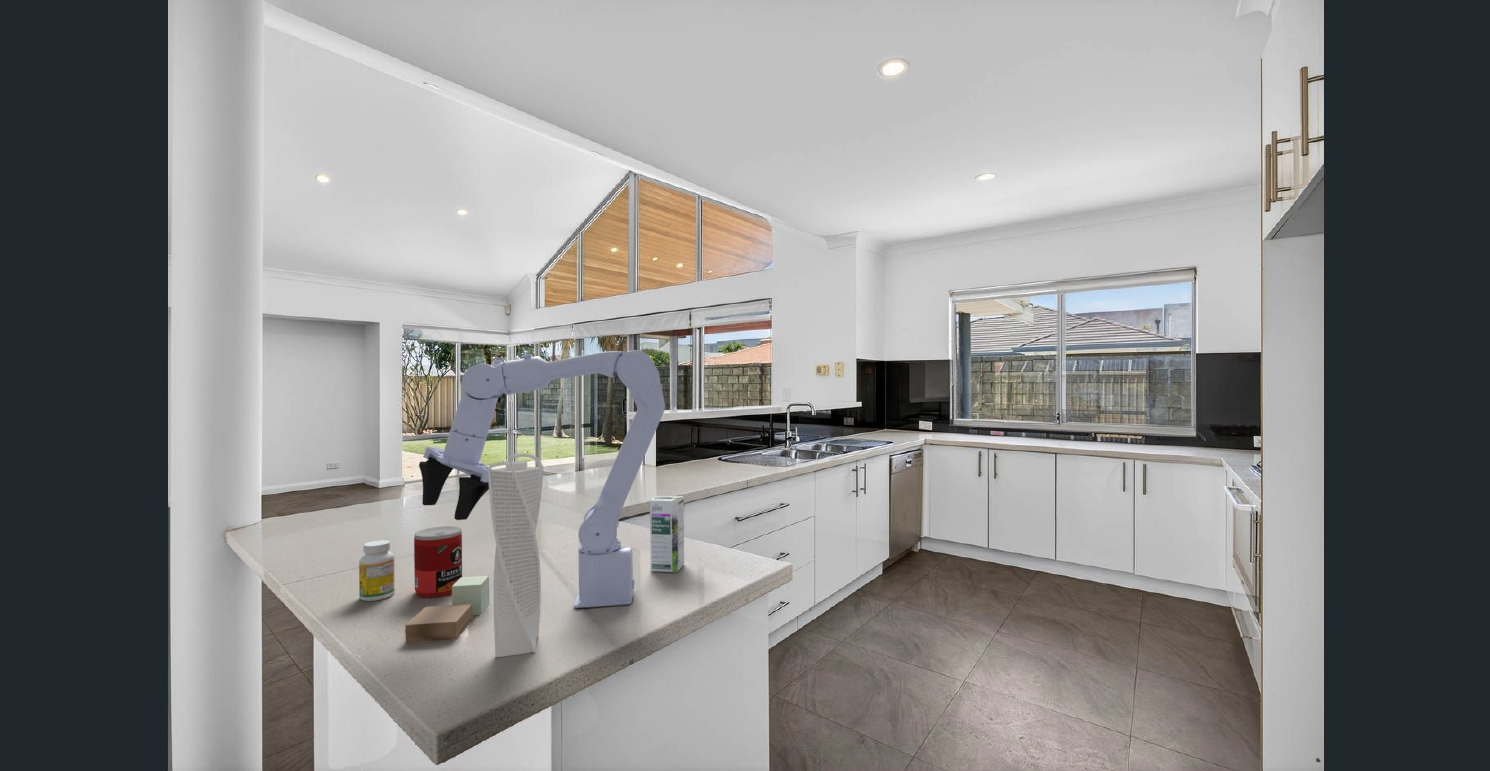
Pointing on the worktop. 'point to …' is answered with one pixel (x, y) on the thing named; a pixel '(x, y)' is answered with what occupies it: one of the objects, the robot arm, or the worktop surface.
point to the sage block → (472, 593)
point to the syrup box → (667, 533)
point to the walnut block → (438, 623)
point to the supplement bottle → (376, 571)
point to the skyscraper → (516, 554)
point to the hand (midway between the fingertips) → (444, 511)
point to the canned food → (437, 560)
